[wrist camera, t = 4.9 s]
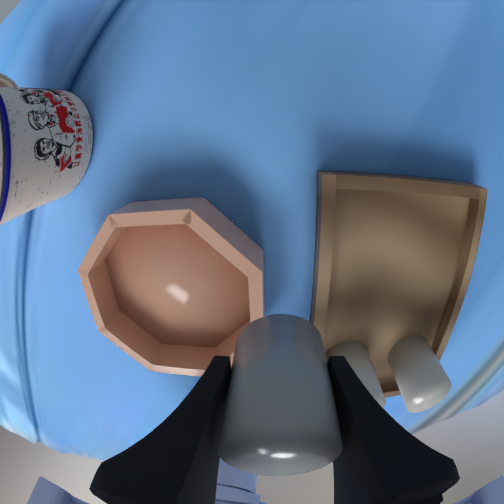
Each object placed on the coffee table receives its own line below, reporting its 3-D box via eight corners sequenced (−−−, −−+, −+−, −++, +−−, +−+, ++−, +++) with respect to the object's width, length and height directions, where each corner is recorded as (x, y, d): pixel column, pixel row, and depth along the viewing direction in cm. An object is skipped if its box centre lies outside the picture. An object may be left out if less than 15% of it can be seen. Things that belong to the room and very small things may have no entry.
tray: (419, 377, 23) (424, 389, 21) (302, 391, 24) (303, 405, 22) (473, 183, 15) (487, 188, 14) (317, 170, 16) (322, 174, 15)
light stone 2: (419, 364, 21) (439, 406, 16) (383, 370, 22) (399, 416, 17) (432, 332, 20) (458, 374, 15) (394, 337, 20) (416, 384, 15)
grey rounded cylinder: (317, 377, 13) (329, 473, 8) (237, 377, 13) (223, 473, 8) (328, 313, 11) (356, 422, 6) (233, 313, 12) (210, 424, 6)
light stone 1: (362, 372, 22) (376, 420, 17) (319, 376, 22) (326, 427, 17) (372, 339, 20) (392, 389, 15) (325, 342, 21) (335, 396, 16)
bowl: (265, 351, 22) (264, 379, 19) (127, 341, 23) (113, 364, 20) (262, 194, 17) (260, 207, 14) (91, 206, 18) (65, 218, 15)
